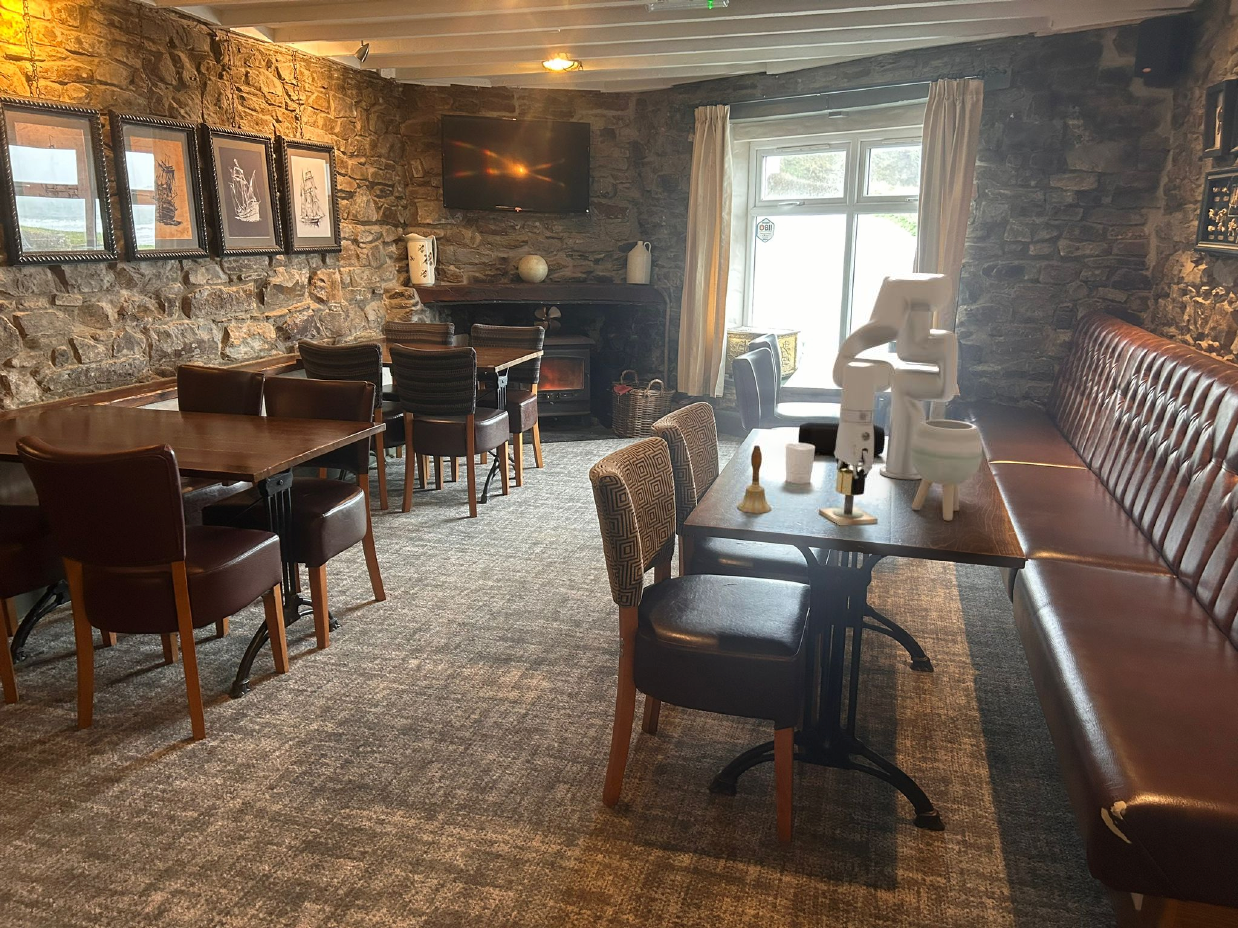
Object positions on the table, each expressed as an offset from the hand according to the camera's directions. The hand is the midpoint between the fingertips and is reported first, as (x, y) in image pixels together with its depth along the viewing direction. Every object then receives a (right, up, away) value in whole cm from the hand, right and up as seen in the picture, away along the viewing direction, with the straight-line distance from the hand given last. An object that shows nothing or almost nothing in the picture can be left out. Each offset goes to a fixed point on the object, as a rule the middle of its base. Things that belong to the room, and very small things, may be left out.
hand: (849, 489), depth 203 cm
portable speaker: (+15, +9, +67) cm, 69 cm away
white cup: (-5, +1, +35) cm, 35 cm away
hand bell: (-22, -5, +8) cm, 24 cm away
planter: (+24, -6, +6) cm, 25 cm away
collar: (0, -1, 0) cm, 1 cm away
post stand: (0, -7, +2) cm, 7 cm away
